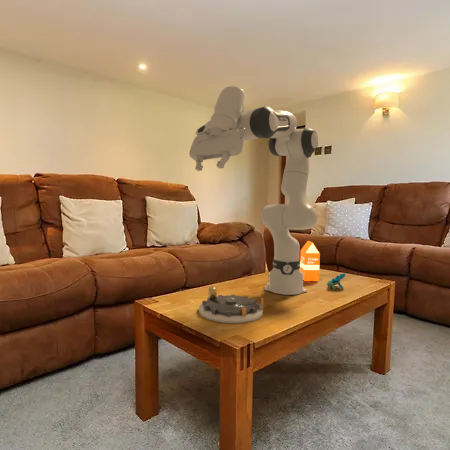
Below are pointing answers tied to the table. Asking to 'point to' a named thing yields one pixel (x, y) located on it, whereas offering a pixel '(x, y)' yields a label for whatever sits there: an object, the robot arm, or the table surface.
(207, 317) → the sprocket base
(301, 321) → the table surface
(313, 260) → the orange juice
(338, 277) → the teal green toy figure
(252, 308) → the sprocket
